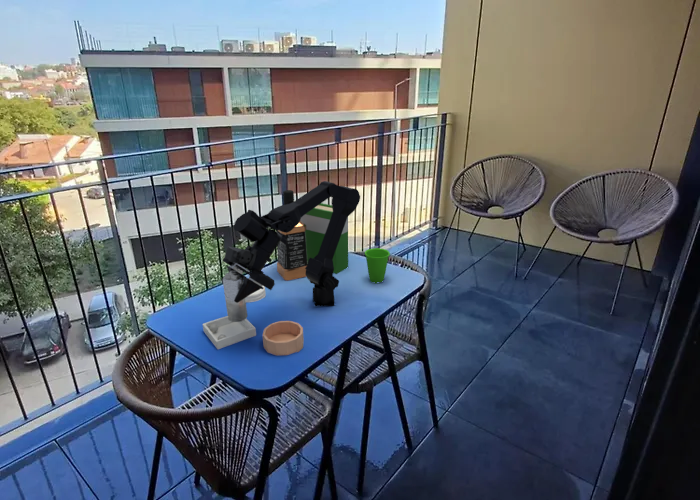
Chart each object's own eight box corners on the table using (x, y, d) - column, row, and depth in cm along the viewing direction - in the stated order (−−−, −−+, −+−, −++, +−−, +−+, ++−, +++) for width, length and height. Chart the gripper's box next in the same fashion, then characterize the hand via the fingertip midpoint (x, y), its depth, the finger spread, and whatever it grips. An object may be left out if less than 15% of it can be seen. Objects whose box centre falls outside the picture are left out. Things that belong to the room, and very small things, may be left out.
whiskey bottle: (276, 271, 159) (270, 189, 147) (300, 266, 163) (296, 186, 152) (285, 281, 151) (279, 195, 139) (310, 275, 155) (307, 192, 143)
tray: (240, 320, 126) (239, 311, 124) (256, 337, 117) (255, 327, 116) (203, 332, 119) (202, 323, 118) (217, 351, 111) (216, 341, 110)
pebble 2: (228, 339, 115) (227, 332, 114) (226, 344, 113) (225, 337, 112) (219, 340, 115) (218, 332, 114) (217, 345, 113) (216, 337, 112)
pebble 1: (219, 329, 120) (218, 322, 119) (217, 334, 118) (216, 326, 117) (211, 329, 120) (209, 322, 119) (208, 334, 117) (207, 327, 117)
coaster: (230, 296, 141) (229, 286, 139) (257, 288, 146) (256, 279, 145) (243, 307, 133) (241, 298, 132) (270, 298, 139) (270, 289, 138)
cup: (393, 278, 152) (394, 251, 148) (381, 288, 145) (382, 259, 141) (372, 273, 157) (372, 246, 153) (359, 282, 150) (359, 254, 146)
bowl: (304, 333, 119) (303, 320, 117) (302, 356, 109) (301, 341, 107) (267, 335, 118) (265, 321, 116) (261, 357, 108) (260, 343, 107)
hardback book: (302, 263, 166) (299, 205, 157) (314, 257, 172) (312, 201, 163) (336, 273, 156) (335, 213, 148) (348, 267, 162) (347, 208, 153)
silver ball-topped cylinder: (248, 311, 117) (242, 266, 111) (246, 321, 112) (241, 274, 107) (229, 313, 116) (222, 267, 111) (226, 322, 111) (220, 276, 106)
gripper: (224, 226, 114) (192, 274, 111) (260, 244, 101) (224, 299, 99) (252, 245, 122) (222, 291, 119) (289, 264, 109) (256, 315, 106)
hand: (230, 298), depth 111 cm, fingers closed on silver ball-topped cylinder, 5 cm apart
